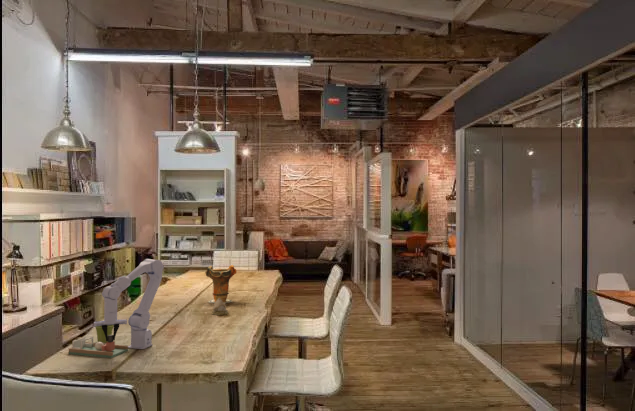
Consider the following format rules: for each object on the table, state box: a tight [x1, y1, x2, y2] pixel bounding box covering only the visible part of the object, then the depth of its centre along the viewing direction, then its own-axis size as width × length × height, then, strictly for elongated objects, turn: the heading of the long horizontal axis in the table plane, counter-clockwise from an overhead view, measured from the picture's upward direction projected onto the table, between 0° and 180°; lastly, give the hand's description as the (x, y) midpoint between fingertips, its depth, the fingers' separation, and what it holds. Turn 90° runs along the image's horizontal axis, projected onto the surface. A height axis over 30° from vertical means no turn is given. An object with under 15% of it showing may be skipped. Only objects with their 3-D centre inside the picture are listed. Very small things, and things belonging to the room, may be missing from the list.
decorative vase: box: [205, 264, 237, 304], centre depth 370 cm, size 21×23×28 cm
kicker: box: [102, 334, 116, 351], centre depth 234 cm, size 4×6×7 cm, turn 166°
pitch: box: [68, 341, 129, 359], centre depth 236 cm, size 24×12×2 cm, turn 76°
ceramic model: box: [211, 298, 229, 316], centre depth 329 cm, size 14×11×10 cm
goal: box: [72, 336, 94, 349], centre depth 238 cm, size 5×8×5 cm, turn 166°
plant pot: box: [95, 325, 114, 344], centre depth 254 cm, size 9×9×9 cm
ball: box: [95, 341, 105, 350], centre depth 236 cm, size 4×4×4 cm
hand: (110, 340), depth 234 cm, fingers open, 2 cm apart
